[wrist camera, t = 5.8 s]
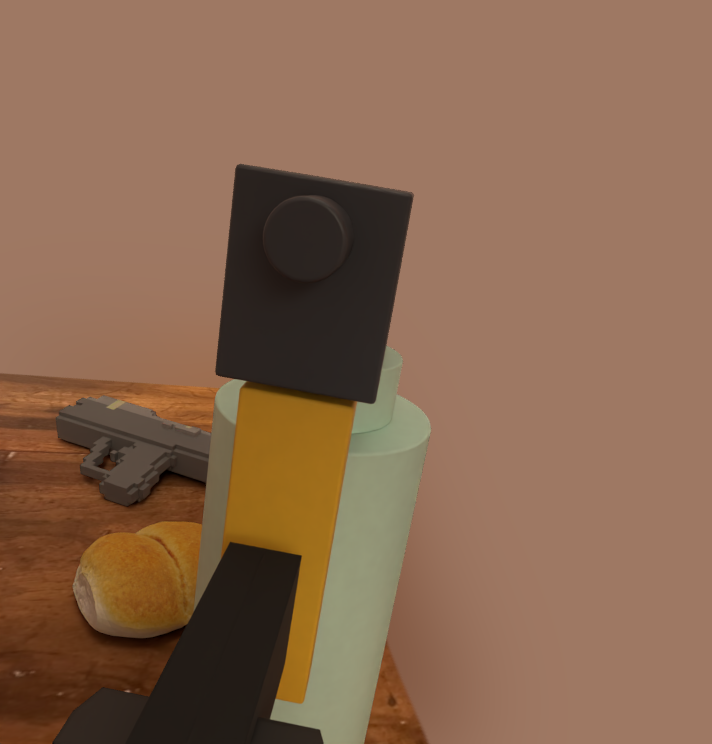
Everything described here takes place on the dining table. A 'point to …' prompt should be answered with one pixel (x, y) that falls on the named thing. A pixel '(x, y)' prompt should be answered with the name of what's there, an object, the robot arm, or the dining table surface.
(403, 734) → the dining table surface
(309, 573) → the strip
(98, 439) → the toy gun
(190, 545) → the bread roll
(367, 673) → the spray bottle
